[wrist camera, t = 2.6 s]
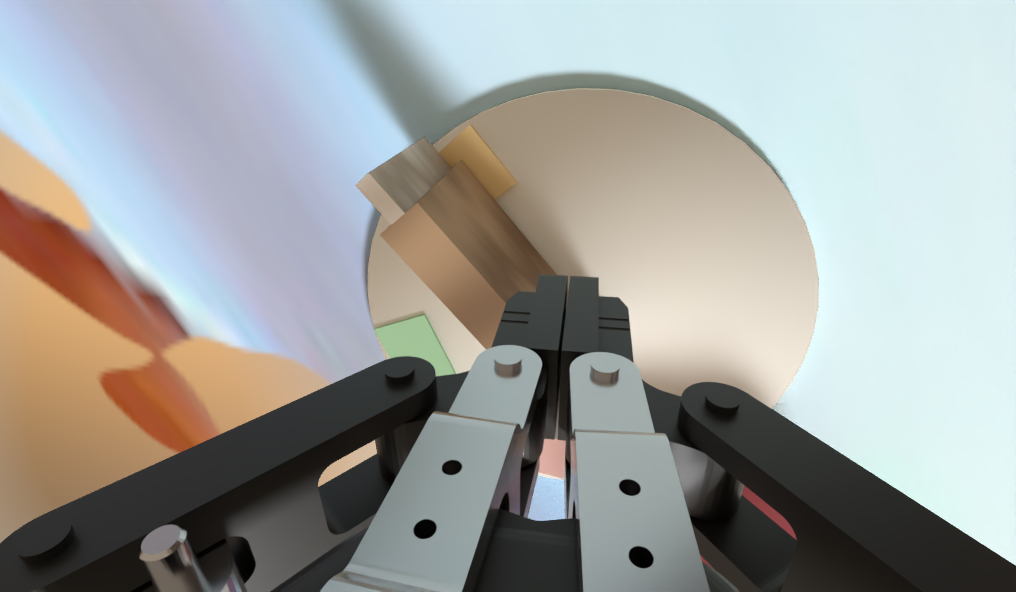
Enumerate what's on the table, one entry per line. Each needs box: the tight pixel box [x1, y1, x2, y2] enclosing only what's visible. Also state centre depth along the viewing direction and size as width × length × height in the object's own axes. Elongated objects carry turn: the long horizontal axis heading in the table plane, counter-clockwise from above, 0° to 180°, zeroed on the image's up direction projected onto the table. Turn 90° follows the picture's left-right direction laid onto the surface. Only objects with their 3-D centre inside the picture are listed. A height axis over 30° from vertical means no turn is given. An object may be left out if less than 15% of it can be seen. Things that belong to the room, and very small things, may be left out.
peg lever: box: [355, 137, 569, 439], centre depth 25 cm, size 15×4×8 cm, turn 41°
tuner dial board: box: [368, 88, 819, 480], centre depth 30 cm, size 25×25×1 cm
